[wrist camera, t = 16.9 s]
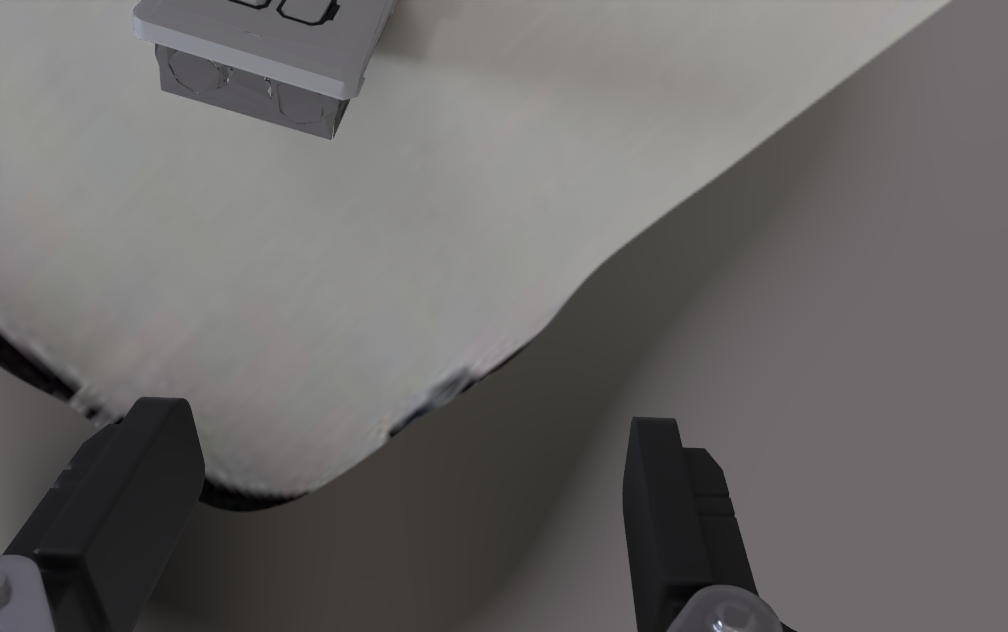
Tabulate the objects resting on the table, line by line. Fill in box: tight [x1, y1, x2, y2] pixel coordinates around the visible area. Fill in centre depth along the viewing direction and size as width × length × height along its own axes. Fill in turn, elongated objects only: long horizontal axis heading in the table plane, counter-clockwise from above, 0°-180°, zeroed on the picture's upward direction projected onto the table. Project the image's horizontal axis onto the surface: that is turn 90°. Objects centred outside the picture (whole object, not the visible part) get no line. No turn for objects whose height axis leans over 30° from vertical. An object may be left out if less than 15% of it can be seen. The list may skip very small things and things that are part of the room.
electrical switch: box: [133, 0, 397, 140], centre depth 36 cm, size 9×5×9 cm, turn 73°
